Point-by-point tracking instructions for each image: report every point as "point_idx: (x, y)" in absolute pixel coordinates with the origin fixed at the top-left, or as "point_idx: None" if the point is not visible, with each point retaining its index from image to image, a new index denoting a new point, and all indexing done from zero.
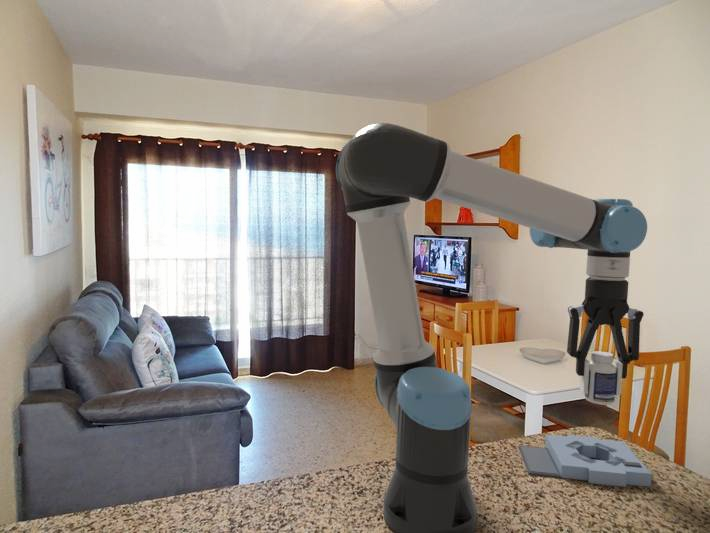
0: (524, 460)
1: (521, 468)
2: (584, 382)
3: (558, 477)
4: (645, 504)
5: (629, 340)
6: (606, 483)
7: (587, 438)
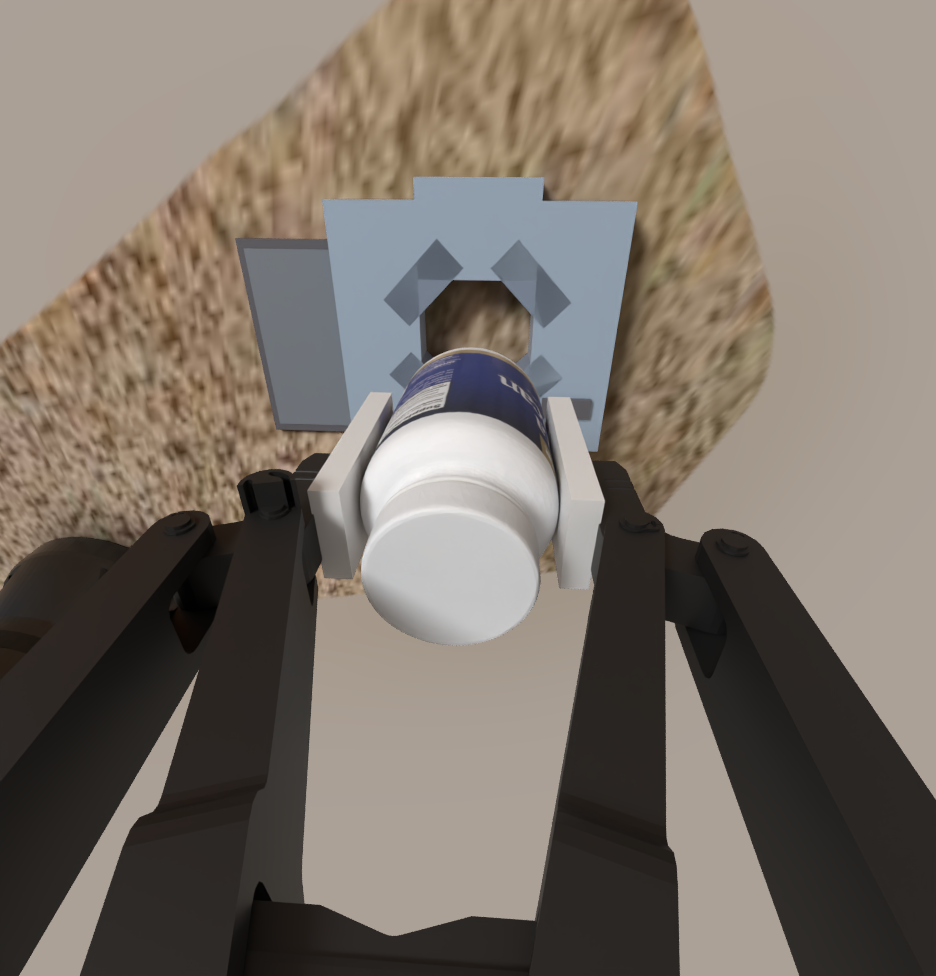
0: (262, 359)
1: (259, 397)
2: None
3: None
4: None
5: (752, 698)
6: None
7: (491, 200)
